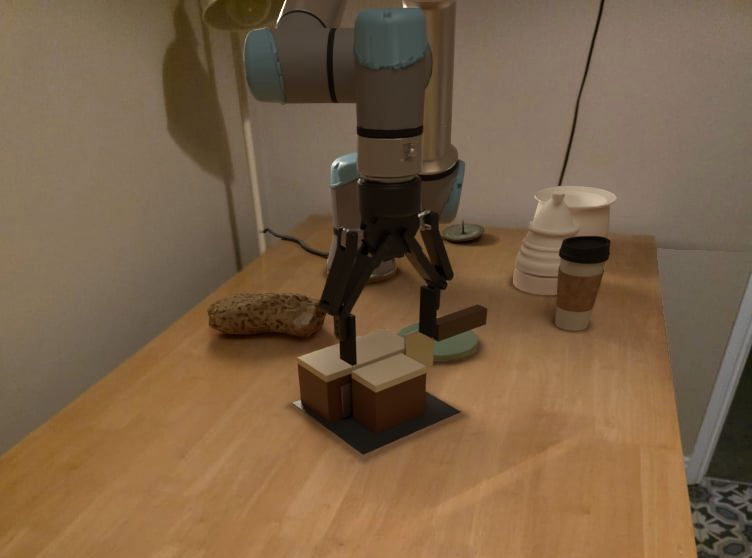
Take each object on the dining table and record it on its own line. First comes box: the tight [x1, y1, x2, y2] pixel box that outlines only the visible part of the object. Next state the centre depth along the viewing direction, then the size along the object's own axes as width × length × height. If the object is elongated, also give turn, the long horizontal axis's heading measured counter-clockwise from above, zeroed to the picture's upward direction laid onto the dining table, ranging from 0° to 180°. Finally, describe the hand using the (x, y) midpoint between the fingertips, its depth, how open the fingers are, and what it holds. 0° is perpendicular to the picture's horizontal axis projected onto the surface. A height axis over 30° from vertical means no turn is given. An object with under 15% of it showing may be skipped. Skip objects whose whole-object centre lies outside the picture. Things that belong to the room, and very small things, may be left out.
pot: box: [533, 185, 618, 239], centre depth 150 cm, size 22×17×12 cm
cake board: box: [292, 391, 462, 456], centre depth 99 cm, size 18×18×1 cm
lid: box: [440, 218, 485, 242], centre depth 162 cm, size 11×10×5 cm
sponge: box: [206, 292, 327, 338], centre depth 120 cm, size 13×8×20 cm
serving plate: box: [396, 322, 479, 362], centre depth 116 cm, size 14×14×2 cm
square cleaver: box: [340, 304, 488, 418], centre depth 99 cm, size 27×2×10 cm, turn 127°
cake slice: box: [351, 353, 428, 434], centre depth 95 cm, size 6×9×8 cm, turn 127°
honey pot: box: [512, 191, 580, 296], centre depth 133 cm, size 13×13×18 cm
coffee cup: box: [554, 236, 612, 332], centre depth 118 cm, size 8×8×15 cm
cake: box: [296, 327, 404, 423], centre depth 99 cm, size 16×8×8 cm, turn 127°
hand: (389, 347), depth 90 cm, fingers open, 13 cm apart
